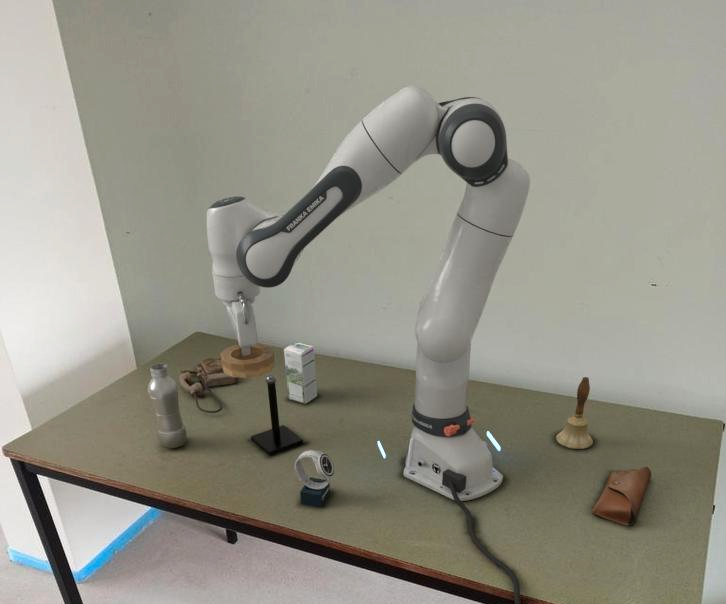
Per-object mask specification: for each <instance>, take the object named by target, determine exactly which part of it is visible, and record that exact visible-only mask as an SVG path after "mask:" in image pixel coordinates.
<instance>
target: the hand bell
mask: <svg viewBox="0 0 726 604" xmlns="http://www.w3.org/2000/svg"><path fill="white" fill-rule="evenodd" d="M590 390H591V385H590V378H589V377H587V376H583V377H582V379H581V381H580V383H579V384H578V386H577V391H576V399H577V401H576V402H577V404H576V408H575V412H574V415H572V416H570V417H568V418H567V421H566V424H565V427H564V428H563V430H562V431H559V432H558V433H557V435H556V437H555V440H556V442H557V443H558V444H559V445H560V446H563V447H565V448H567V449H572V450H583V449H588V448H590V447H591V446H592V445H593V444H594V441H593V438H592V436H591V435H590V434H589V429H588V423H589V422H588V420H587V418H585V417H584V416H583V415H584V409H585V405H586V404H585V403H586V402H587V400H588V398H589V395H590Z"/></svg>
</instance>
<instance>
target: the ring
mask: <svg viewBox="0 0 726 604" xmlns="http://www.w3.org/2000/svg"><path fill="white" fill-rule="evenodd" d="M250 350H251V354H250V355H246V356H243V355H242V352H241V347H240V345H239V343H238V344H234V345H231V346H229V347H226V348H225V349H224V350H222V352H220V358H221V362H222V368H223V371H224V373H225V374H227V375H229V376H232V377H236V378H240V379H248V378H256V377H257V378H258V377H261V376H263V375H266V374H269V373H270V372H272V370H274V368H275V367H276V361H275V359H276V358H275V353H274V350H273V348H272V346H269V345H267V344H265V343H259V342H258V343H257V345H255V346H250Z"/></svg>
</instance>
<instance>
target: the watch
mask: <svg viewBox="0 0 726 604" xmlns="http://www.w3.org/2000/svg"><path fill="white" fill-rule="evenodd" d="M303 458H311V459H312V462H313V463H314V465H315V469H316V472H317V474H318V475H319V476H320V477H321V478H317V477H311V476H310V477H309V475H308V474H307V473H306V471H305V469H304V467H303V464H301V459H303ZM293 471H294V473H295V475H296V477H297V478H298V481H299V482H300V484H302V485H303V487H302V488H301V490H300V491H299V494H300V505H303V506H309V507H316V508H320V509H321V508H322V507H323V505H324V503H325V502H326V501H327V498H328V497H329V495H330V493H331V484H330V482H331V481H332V480H333V477H334V475H335V464H334V461H333V459H332V457H330V455H329V454H327V453H323V452H322V451H320V450H319V451H318V450H314V449H308V450H305V451H303V452H302V453H300V454H299V456H298V457H297V459H295V461H294V469H293Z"/></svg>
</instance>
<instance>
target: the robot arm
mask: <svg viewBox="0 0 726 604" xmlns="http://www.w3.org/2000/svg"><path fill="white" fill-rule="evenodd" d="M504 124H505V123H504V121H503V119H502V117H501V115H500V112H499V111H498V110H497V108H496V107H495V106H494V105H493V104H491V103H490V102H488V101H487V100H485V99H482V98H480V97H475V96H464V97H459V98H455V99H451V100H446V101H441V102H437V101H436V99H435V97H433V96H432V95H431V93H429V92H428V91H427V90H426V89H424V88H422V87H419V86H417V85H408V86H405V87H402V88H401V89H400V90H398V91H397V92H395V93H393V94H392V95H391V96H389V97H388V98H386V99H385V100H383V101H382V102H381V103H379V104H378V105H377V106H376V107H374V108H373V109H372V110H371V111H370V112H369V113H367V115H365V116H364V117H363V118H362V119H361V120H360V121H359V122H358V123H357V124H356V125H355V126H354V127H353V128H352V129H351V130H350V132H349V133H348V134H347V135H346V137H345V138H344V139H343V140H342V141H341V143H340V144H339V146H338V147H337V149H336V150H335V151H334V152H333V155H332V156H331V158H330V160H329V162H328V164H327V165H326V166H325V168H324V170H323V171H322V173H321V175H320V177H318V179H317V180H316V182H315V183H314V184H313V186H312V187H311V188H310V189H309V190H308V192H307V193H306V194H305V195H304V196H303V197H302V198H300V199H299V200H298V201H297V202H296V203H295V204H294V205H293V206H292V207H291V208H290V209H289V210H288V211H287V212H285V213H284V214H279V213H275V212H272V211H268V210H267V209H263V208H262V207H260V206H258V205H256V204H253V203H252V201H250V200H249V199H248V198H246V197H244V196H230V197H226V198H223V199H220V200H217V201H215V202H214V203H212V204H211V205H210V206H209V207H208V209H207V211H206V237H207V244H208V246H207V247H208V251H209V253H210V255H211V256H210V257H211V259H212V266H211V273H212V280H213V288H214V295H215V297H216V298H217V299H218V300H221V301H222V304H223V305H224V306H225V309H226V313H227V315H228V318H229V321H230V323H231V326H232V329H233V331H234V334H235V337H236V340H237V341H238V344H239V345H240V347H241V352H242V355H243V356H246V355H250V354H251V350H250V346H255V345H257V343H259V340H258V339H259V338H258V330H257V323H256V316H255V315H256V314H255V311H254V307H253V304H254V303H255V302H256V297H257V296H259V295H260V294H261V288H265V289H266V288H270V289H271V288H275V287H278V286H280V285H281V284H283V283H284V282H285V281H287V279H288V277H289V276H290V274H291V273H292V270H293V268H294V266H295V265H296V263H297V262H298V260H299V259H300V258H301V256H302V254H303V252H304V249H305V248H306V247H307V246H308V245H309V244H310V243H312V242H313V240H315V239H316V238H317V237H318V236H319V235H321V233H323V232H324V231H325V230H326V229H327V228H328V227H329V226H330V225H331V224H332V223H333V222H334V221H335V220H337V219H338V218H340V217H341V216H342V215H344V214H345V213H347V212H348V211H349V210H352V209H353V208H354V207H357V206H358V205H359V204H361V203H363V202H365V201H366V200H367V199H369V198H371V197H373V196H374V195H376V194H378V193H379V192H381V191H382V190H384V189H385V188H387V187H388V186H390V185H391V184H392V183H393V182H395V181H396V180H397V179H398V178H399V177H401V176H403V174H404V173H405V172H406V171H408V169H410V167H411V166H413V164H415V163H416V162H417V161H420V160H421V159H423V158H424V157H426V156H429V155H439V156H441V158H442V160H443V162H444V164H445V165H446V166H447V168H449V169H450V170H451V171H452V172H453V173H454V174H455V175H457V176H458V177H460V178H461V179H462V180H463V181H464V182H466V184H465V189H464V195H463V198H462V200H461V202H460V205H459V207H458V210H457V212H456V214H455V217H454V220H453V222H452V224H451V227H450V230H449V232H448V235H447V238H446V240H445V243H444V244H443V248H442V250H441V253H440V255H439V258H438V262H437V264H436V267H435V270H434V273H433V275H432V278H431V281H430V285H429V287H428V288H427V289H426V290H425V292H424V293H423V294H422V296H421V298H420V300H419V305H418V310H417V316H416V320H415V328H414V334H415V339H416V342H417V344H416V345H417V346H416V359H415V360H416V361H415V373H414V374H415V376H414V380H415V381H414V402H413V404H412V409H411V422H412V425H413V426H412V430H411V435H410V439H409V444H408V451H407V454H406V457H405V463H404V464H405V466H404V469H403V474H402V476H403V477H405V478H406V479H408V480H411V481H413V482H415V483H416V484H419V485H421V486H423V487H425V488H427V489H430V490H432V491H433V492H435V493H438V494H440V495H442V496H444V497H446V498H449V499H450V500H452V501H454V502H455V503H456V504H457V506H458V507H459V508H460V509H461V510H462V511H463V512H464V514H465V515H466V518H467V522H468V525H467V526H468V528H467V530H468V533H469V535H470V538H471V540H472V541H473V543H474V544H475V545H476V547H477V548H478V549H479V550H480V551H481V553H483V555H485V556H486V557H487V559H489V561H491V562H492V563H494V565H496V567H497V566H498V568H500V569H502V571H504V572H505V573H506V574H507V575H508V576H509V578H510V579H511V582H512V584H513V599H514V604H521V603H522V601H521V587H520V581H519V579H518V577H517V575H516V574H515V573H514V571H513V570H512V569H511V568H510V567H509V566H508V565H507V564H505V563H504V562H503V561H501V560H500V559H498V558H497V557H496V556H495V555H493V553H492V552H490V551H489V550H488V548H487V547H486V546H485V545H484V544H483V543H482V542H481V541H480V539H479V538H478V536H477V535H476V532H475V529H474V517H473V515H472V513H471V511H470V510H469V508H467V506H466V505H465V504H464V503H463V502H464V501H465V502H466V501H470V500H475V499H478V498H481V497H483V496H486V495H487V494H489V493H491V492H493V491H494V490H497V488H499V487H500V486H501V484H502V483H503V480H504V475H503V474H502V473H501V472H500V471H499V470H497V469H496V468H495V467H494V465H493V464H494V463H493V457H492V456H493V455H492V453H491V451H490V450H489V446H488V443H487V441H486V440H482V439H481V438H480V436H479V434H478V433H477V432H476V430H475V429H474V428H473V424H475V423H476V421H475V420H476V419H477V418H476V417H471V413H470V409H469V406H468V396H469V395H468V394H469V381H470V369H471V368H470V366H471V350H472V349H471V348H472V340H473V337H474V335H475V332H476V329H477V327H478V324H479V322H480V321H481V320H480V319H481V317H482V314H483V312H484V309H485V307H486V304H487V301H488V298H489V295H490V292H491V290H492V287H493V283H494V282H495V279H496V276H497V274H498V271H499V270H500V267H501V265H502V262H503V260H504V258H505V256H506V253H507V251H508V249H509V246H510V245H511V242H512V241H513V238H514V236H515V233H516V231H517V228H518V226H519V223H520V221H521V218H522V215H523V212H524V209H525V206H526V203H527V199H528V195H529V193H530V192H529V191H530V186H531V177H530V175H529V173H528V171H527V170H526V169H525V167H524V166H522V164H521V163H519V162H518V161H516V160H515V159H512V158H509V157H508V156H509V155H508V141H507V132H506V127H505V125H504ZM486 436H487V437H488V439H489V440H490V441H491V443H492V444H493V445H494V447H495V448H496V450H497V451H498V452H500V451H501V446H500V445H499V443H498V442H497V440H496V439H495V437H493V435H492V433H490V431H489V430H488V431H487V432H486ZM377 446H378V448H379V451H380V453H381V455H382V457H383V459H386V453H385V451H384V448H383V446H382V444H381V442H380V440H378V441H377Z"/></svg>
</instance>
